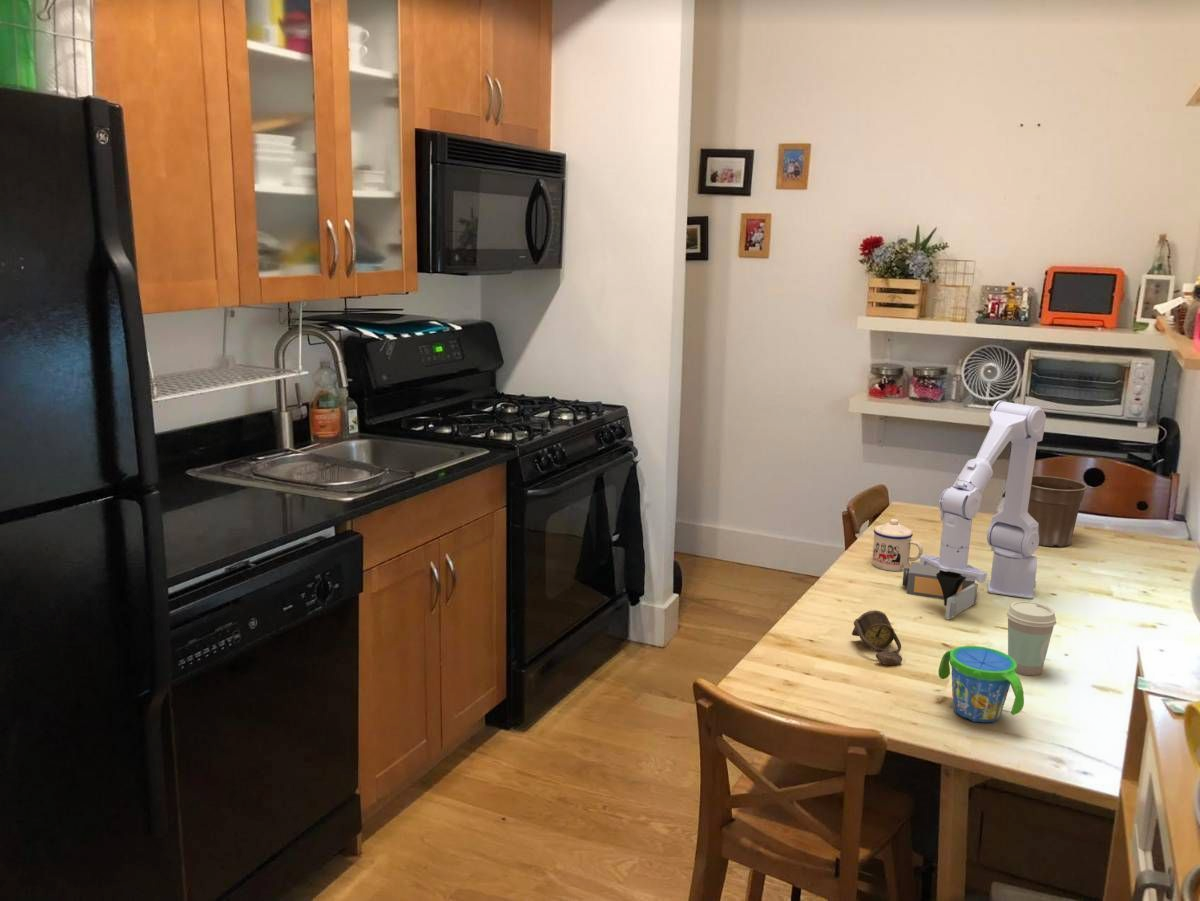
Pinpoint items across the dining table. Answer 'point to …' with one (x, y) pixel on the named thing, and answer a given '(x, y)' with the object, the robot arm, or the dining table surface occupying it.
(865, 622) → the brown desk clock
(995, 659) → the snack cup
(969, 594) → the grey long bar
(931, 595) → the camera body
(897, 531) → the teacup with lid
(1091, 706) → the dining table surface
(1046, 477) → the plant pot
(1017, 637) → the coffee cup
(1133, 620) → the dining table surface
